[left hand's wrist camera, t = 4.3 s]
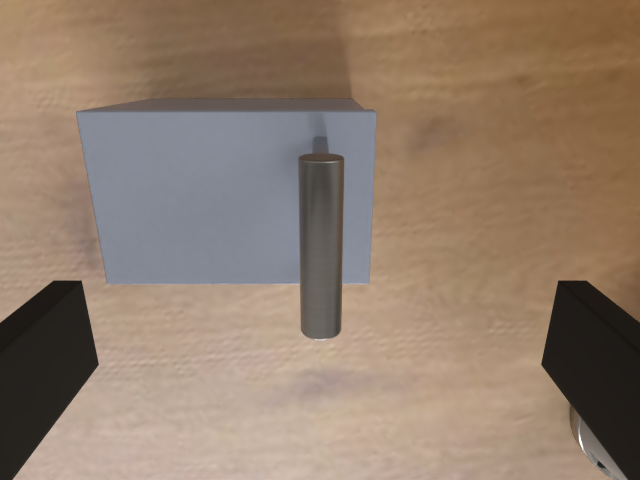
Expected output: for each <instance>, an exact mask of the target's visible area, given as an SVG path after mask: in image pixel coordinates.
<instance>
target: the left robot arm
mask: <svg viewBox="0 0 640 480" xmlns="http://www.w3.org/2000/svg"><path fill="white" fill-rule="evenodd" d="M98 365H99V364H98V359H97V354H96V349H95V344H94V339H93V334H92V329H91V324H90V319H89V315H88V310H87V305H86V300H85V295H84V290H83V285H82V281H53V282H51V283H50V284H49V285H48V286H46V287H45V288H44V289H43V290H41V291H40V292H39V293H37V294H36V295H35V296H34V297H32V298H31V299H30V300H29V301H27V302H26V303H25V304H24V305H22V306H21V307H20V308H18V309H17V310H16V311H15V312H13V313H12V314H11V315H10V316H8V317H7V318H6V319H5V320H3V321H2V322H1V323H0V480H13V478H14V477H15V476H16V474H17V473H18V472H19V470H20V469H21V468H22V466H23V465H24V464H25V462H26V461H27V460H28V458H29V457H30V456H31V454H32V453H33V452H34V450H35V449H36V448H37V446H38V445H39V444H40V442H41V441H42V440H43V438H44V437H45V436H46V434H47V433H48V432H49V430H50V429H51V428H52V426H53V425H54V424H55V422H56V421H57V420H58V418H59V417H60V416H61V414H62V413H63V412H64V410H65V409H66V408H67V406H68V405H69V404H70V402H71V401H72V400H73V398H74V397H75V396H76V394H77V393H78V392H79V390H80V389H81V388H82V386H83V385H84V384H85V382H86V381H87V380H88V378H89V377H90V376H91V374H92V373H93V372H94V370H95V369H96V368H97V366H98ZM541 365H542V366H543V368H544V369H545V370H546V372H547V373H548V374H549V376H550V377H551V378H552V380H553V381H554V382H555V384H556V385H557V386H558V388H559V389H560V390H561V392H562V393H563V394H564V396H565V397H566V398H567V400H568V401H569V402H570V404H571V411H570V425H571V430H572V433H573V435H574V438H575V440H576V441H577V443H578V444H579V446H580V447H581V449H582V450H583V452H584V453H585V455H586V456H587V457H588V459H589V460H590V461H591V462H592V463H593V464H594V465H595V466H596V467H597V468H598V469H599V470H601V471H602V472H603V473H605V474H606V475H607V476H609V477H610V478H612V479H614V480H640V323H639V322H638V321H637V320H635V319H634V318H633V317H632V316H630V315H629V314H628V313H627V312H625V311H624V310H623V309H622V308H620V307H619V306H618V305H616V304H615V303H614V302H613V301H611V300H610V299H609V298H608V297H606V296H605V295H604V294H603V293H601V292H600V291H599V290H597V289H596V288H595V287H594V286H592V285H591V284H590V283H589V282H587V281H558V285H557V290H556V295H555V300H554V305H553V310H552V315H551V319H550V324H549V329H548V334H547V339H546V344H545V349H544V354H543V359H542V364H541Z"/></svg>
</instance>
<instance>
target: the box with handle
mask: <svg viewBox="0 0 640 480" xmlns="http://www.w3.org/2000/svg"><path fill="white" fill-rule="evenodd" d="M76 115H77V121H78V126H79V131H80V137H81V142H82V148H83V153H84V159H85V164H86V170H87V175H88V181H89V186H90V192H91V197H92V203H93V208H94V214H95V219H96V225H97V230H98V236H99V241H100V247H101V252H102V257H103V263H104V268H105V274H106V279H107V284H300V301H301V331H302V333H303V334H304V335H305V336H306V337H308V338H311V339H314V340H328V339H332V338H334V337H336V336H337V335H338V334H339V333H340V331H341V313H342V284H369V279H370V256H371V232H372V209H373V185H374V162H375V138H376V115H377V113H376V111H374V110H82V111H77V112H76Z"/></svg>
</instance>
